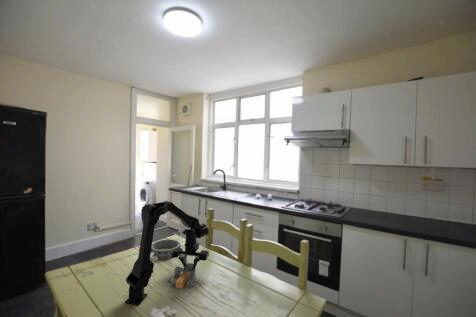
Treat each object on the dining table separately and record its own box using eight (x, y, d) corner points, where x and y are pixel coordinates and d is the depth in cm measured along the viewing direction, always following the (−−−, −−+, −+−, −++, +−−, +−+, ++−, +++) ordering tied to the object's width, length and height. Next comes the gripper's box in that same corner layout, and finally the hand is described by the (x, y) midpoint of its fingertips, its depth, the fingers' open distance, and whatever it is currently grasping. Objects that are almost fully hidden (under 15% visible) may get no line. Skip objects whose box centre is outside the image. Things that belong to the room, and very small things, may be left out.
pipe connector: (160, 263, 122) (161, 246, 122) (152, 273, 112) (152, 253, 112) (144, 262, 123) (144, 244, 123) (134, 271, 113) (134, 252, 113)
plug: (182, 288, 100) (183, 280, 100) (174, 287, 101) (174, 279, 100) (194, 270, 116) (195, 263, 116) (187, 269, 116) (187, 262, 116)
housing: (191, 287, 101) (191, 275, 101) (170, 285, 102) (171, 273, 102) (195, 279, 107) (195, 269, 107) (176, 277, 109) (176, 267, 108)
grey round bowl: (172, 260, 126) (172, 252, 126) (144, 257, 129) (144, 249, 129) (184, 247, 144) (185, 240, 144) (159, 245, 147) (159, 238, 147)
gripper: (211, 236, 121) (210, 264, 121) (179, 233, 123) (179, 260, 123) (206, 244, 110) (205, 274, 110) (171, 241, 112) (170, 271, 112)
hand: (190, 269), depth 114 cm, fingers closed on plug, 4 cm apart
